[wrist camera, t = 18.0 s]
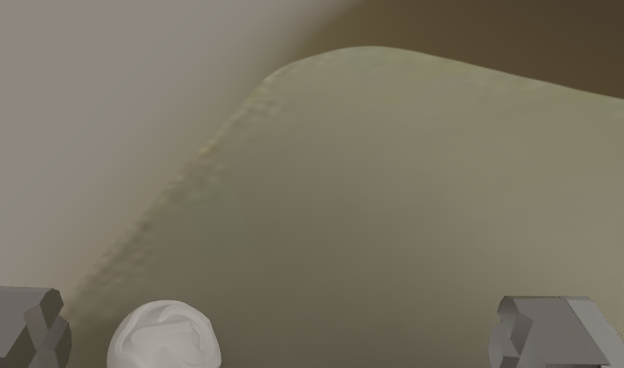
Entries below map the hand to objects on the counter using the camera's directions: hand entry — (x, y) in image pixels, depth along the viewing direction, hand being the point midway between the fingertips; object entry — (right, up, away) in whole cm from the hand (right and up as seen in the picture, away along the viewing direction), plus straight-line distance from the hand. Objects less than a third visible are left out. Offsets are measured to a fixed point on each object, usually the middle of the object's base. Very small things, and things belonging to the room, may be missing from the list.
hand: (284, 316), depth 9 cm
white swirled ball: (-10, -13, +30) cm, 34 cm away
